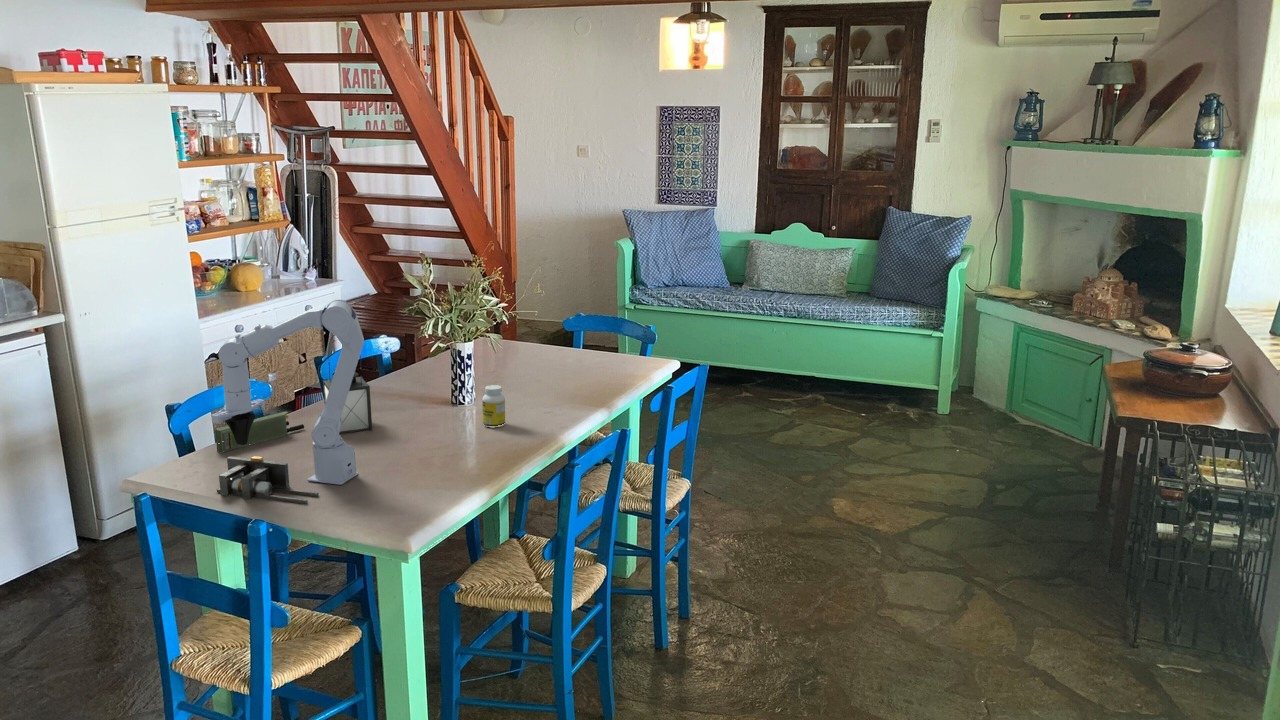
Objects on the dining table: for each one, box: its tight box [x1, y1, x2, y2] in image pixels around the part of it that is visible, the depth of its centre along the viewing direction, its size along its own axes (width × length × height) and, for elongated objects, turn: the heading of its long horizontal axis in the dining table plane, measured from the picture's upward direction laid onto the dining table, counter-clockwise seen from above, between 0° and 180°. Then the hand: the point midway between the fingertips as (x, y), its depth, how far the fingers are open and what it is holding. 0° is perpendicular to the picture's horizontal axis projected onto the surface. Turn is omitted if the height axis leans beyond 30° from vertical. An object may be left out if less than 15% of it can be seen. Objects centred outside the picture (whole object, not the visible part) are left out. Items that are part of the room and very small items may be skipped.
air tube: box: [231, 478, 273, 495], centre depth 223 cm, size 12×3×3 cm
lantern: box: [322, 334, 373, 436], centre depth 268 cm, size 11×11×28 cm
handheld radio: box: [214, 411, 305, 453], centre depth 258 cm, size 7×3×25 cm
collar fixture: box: [216, 455, 320, 505], centre depth 222 cm, size 26×9×7 cm, turn 75°
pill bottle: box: [481, 384, 506, 427], centre depth 273 cm, size 6×6×12 cm
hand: (241, 443), depth 226 cm, fingers closed
